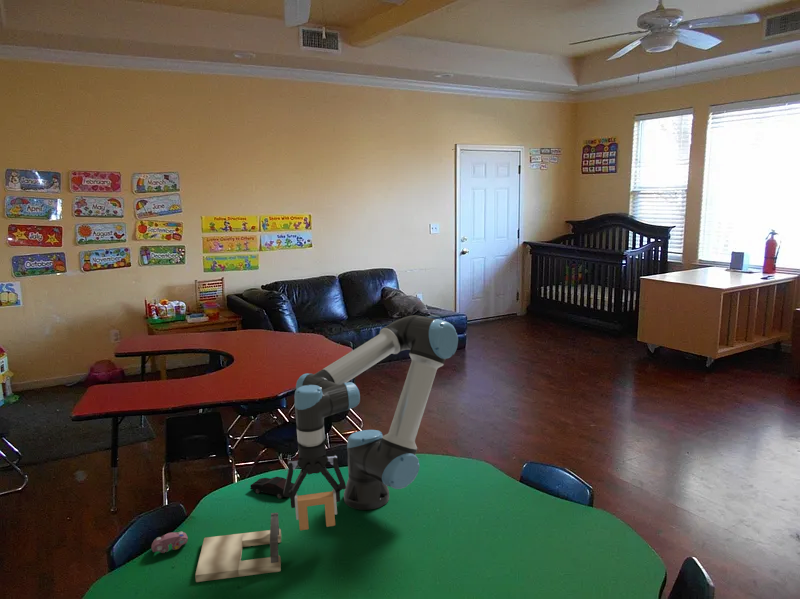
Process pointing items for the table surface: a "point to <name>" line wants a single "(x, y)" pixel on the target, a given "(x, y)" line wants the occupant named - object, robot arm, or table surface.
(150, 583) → the table surface
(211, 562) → the wooden base with post
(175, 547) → the video game controller
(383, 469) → the robot arm
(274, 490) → the toy car
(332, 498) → the tan wooden arch
